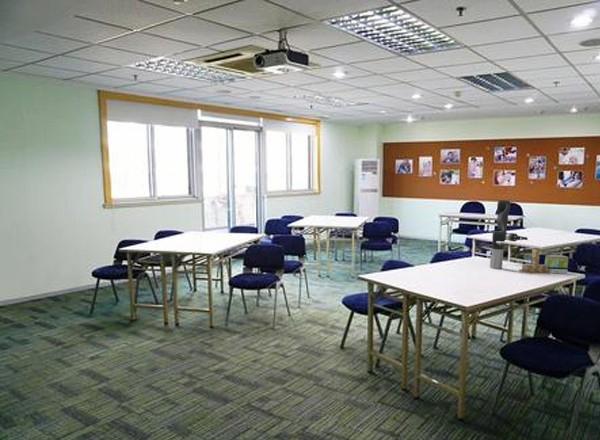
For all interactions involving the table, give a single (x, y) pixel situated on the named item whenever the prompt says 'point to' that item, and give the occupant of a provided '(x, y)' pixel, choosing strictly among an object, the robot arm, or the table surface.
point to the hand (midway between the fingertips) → (522, 238)
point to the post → (535, 256)
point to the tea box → (556, 263)
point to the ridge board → (534, 268)
